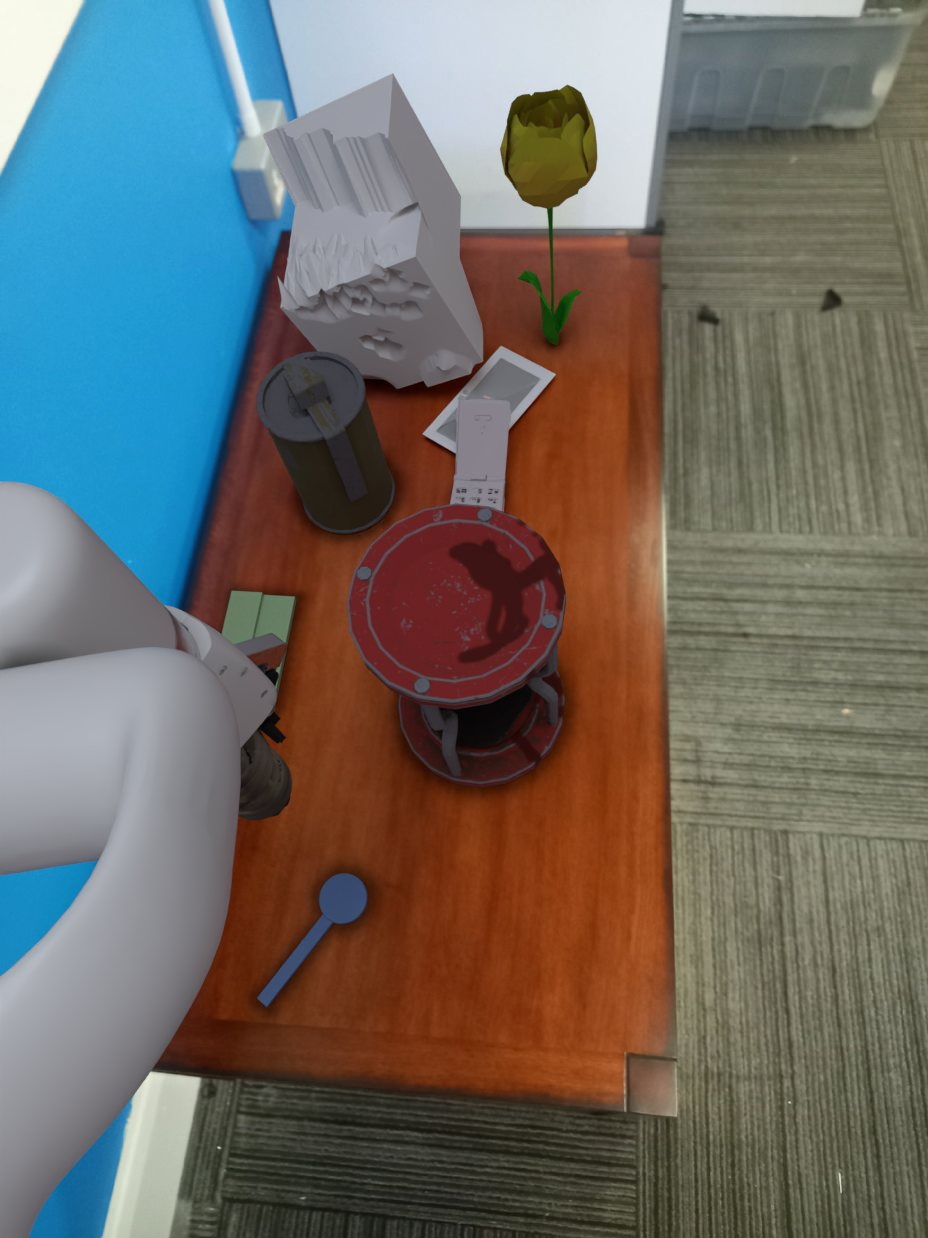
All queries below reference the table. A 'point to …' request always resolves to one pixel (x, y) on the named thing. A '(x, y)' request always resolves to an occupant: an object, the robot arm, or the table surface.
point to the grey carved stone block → (376, 240)
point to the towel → (259, 619)
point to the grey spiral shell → (262, 780)
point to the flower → (549, 169)
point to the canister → (327, 440)
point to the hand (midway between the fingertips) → (235, 764)
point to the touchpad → (494, 391)
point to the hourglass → (465, 638)
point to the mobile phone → (481, 452)
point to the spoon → (322, 926)
